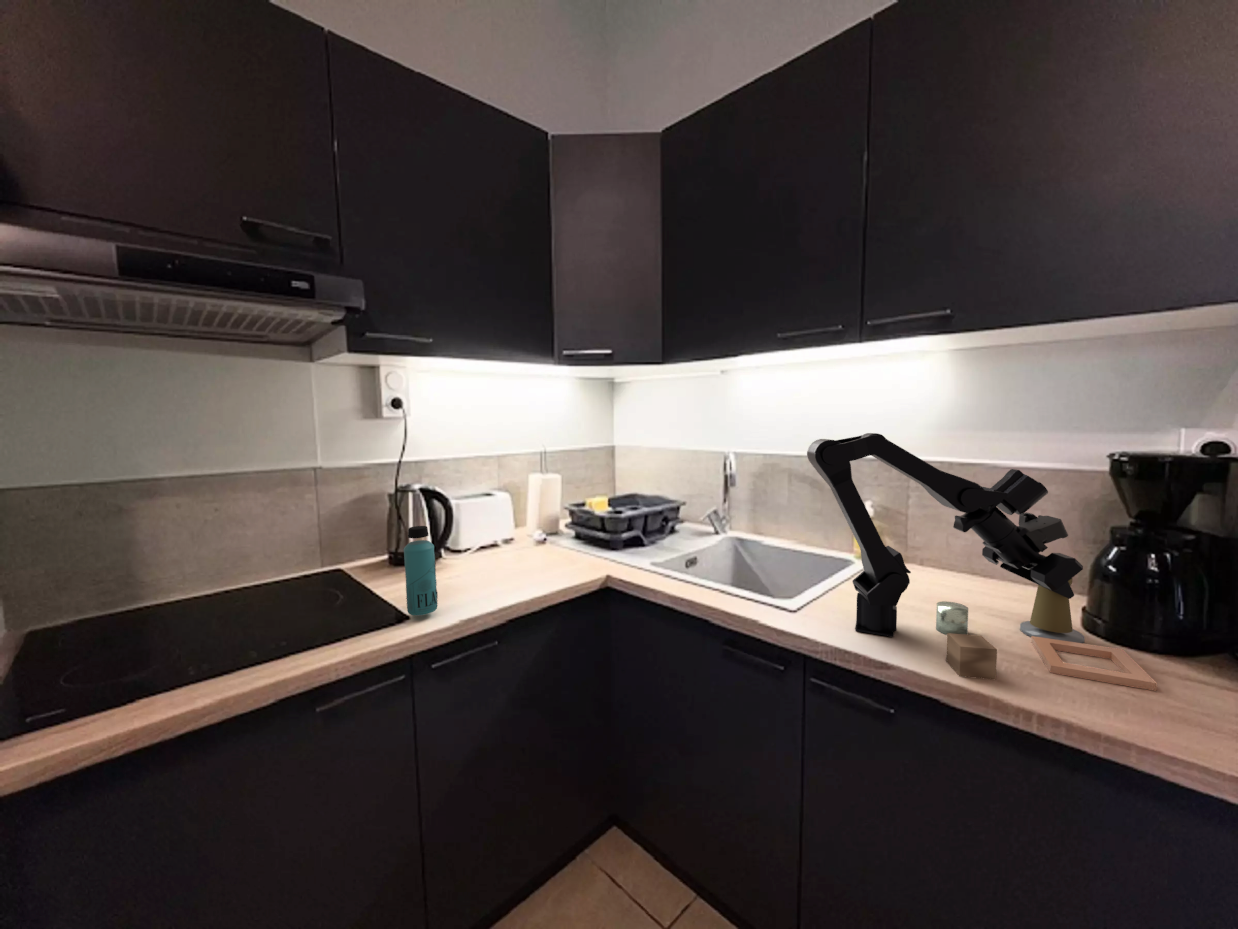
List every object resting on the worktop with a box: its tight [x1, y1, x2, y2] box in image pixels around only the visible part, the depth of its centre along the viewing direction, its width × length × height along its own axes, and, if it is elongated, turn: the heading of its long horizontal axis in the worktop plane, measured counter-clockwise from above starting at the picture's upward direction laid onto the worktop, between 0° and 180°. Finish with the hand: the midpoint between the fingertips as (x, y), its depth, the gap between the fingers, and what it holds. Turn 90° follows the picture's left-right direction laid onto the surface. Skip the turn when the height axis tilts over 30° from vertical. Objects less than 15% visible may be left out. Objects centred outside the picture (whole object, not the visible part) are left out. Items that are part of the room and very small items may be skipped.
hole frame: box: [1030, 636, 1158, 692], centre depth 80 cm, size 12×12×1 cm
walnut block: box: [945, 633, 998, 680], centre depth 79 cm, size 5×5×5 cm
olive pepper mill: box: [1029, 578, 1074, 633], centre depth 90 cm, size 6×6×11 cm
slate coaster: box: [1019, 620, 1086, 644], centre depth 91 cm, size 9×9×1 cm
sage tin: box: [935, 600, 969, 636], centre depth 93 cm, size 5×5×5 cm
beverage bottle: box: [403, 525, 439, 616], centre depth 106 cm, size 6×7×20 cm
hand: (1060, 591), depth 90 cm, fingers closed on olive pepper mill, 5 cm apart
